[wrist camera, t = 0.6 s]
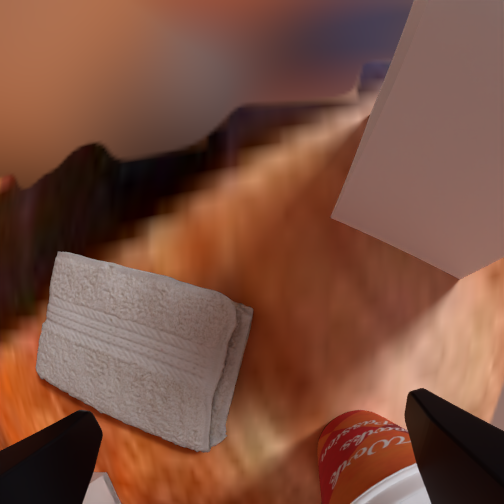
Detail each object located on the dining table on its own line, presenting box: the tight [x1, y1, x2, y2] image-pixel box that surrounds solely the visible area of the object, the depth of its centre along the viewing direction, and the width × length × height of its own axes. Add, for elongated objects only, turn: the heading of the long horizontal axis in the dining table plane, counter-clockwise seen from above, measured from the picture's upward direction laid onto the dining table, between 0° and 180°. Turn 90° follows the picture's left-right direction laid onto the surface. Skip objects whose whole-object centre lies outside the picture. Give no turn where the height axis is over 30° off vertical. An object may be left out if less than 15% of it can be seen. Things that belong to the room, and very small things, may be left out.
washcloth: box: [36, 251, 253, 452], centre depth 21 cm, size 12×18×3 cm, turn 78°
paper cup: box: [317, 410, 431, 504], centre depth 12 cm, size 8×8×14 cm
